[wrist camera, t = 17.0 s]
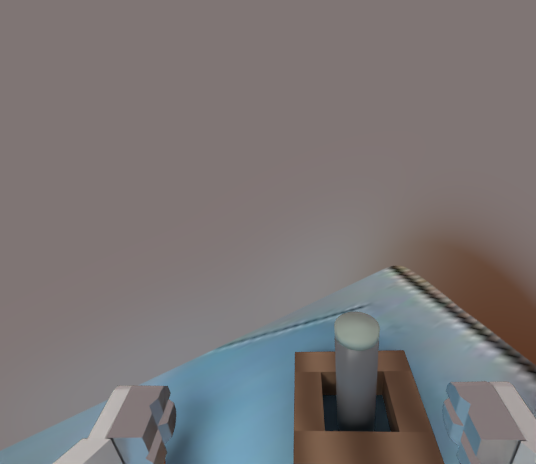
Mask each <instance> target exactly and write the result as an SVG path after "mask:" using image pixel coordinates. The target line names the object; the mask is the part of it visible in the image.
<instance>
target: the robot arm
mask: <svg viewBox="0 0 536 464" xmlns="http://www.w3.org/2000/svg"><path fill="white" fill-rule="evenodd" d="M446 392H447V394H448V397H449V398H448V399H447V400H445V401H444V404H443V419H444V423H445V427H446V430H447V433H448V435H449V438H450V439H451V440H452V441H453V442H455V443H456V444H457V445H458V446H459V448H458V452H457V457H458V460H459V462H460V464H536V419H535V417H534V416H533V414H532V413H531V411H530V410H529V408H528V407H527V405H526V404H525V402H524V401H523V399H522V398H521V396H520V395H519V393H518V392H517V391H516V389H515V388H514V386H513V385H512V384H511V383H509V382H486V381H482V382H450V383H449V384H448V385H447V389H446ZM170 394H171V393H170V391H169V388H168V386H134V385H132V386H130V385H129V386H117V387H116V388H115V389H114V390H113V392H112V394H111V396H110V398H109V399H108V401H107V403H106V405H105V407H104V409H103V410H102V412H101V414H100V416H99V418H98V420H97V422H96V423H95V425H94V427H93V429H92V431H91V433H90V435H89V436H88V438H85V439H81V440H80V441H79V442H78V443H77V444H76V445H74V446H73V447H72V448H71V449H70V450H68V451H67V452H66V453H65V454H64V455H62V456H61V457H60V458H59V459H58V460H56V461H55V462H54V463H53V464H163V463H164V460H165V457H166V454H167V451H166V448H165V445H164V444H165V443H166V442H167V441H168V440H169V439H170V438H171V437H172V435H173V432H174V428H175V423H176V408H175V405H174V403H173V402H172V401H170V400H169V396H170Z"/></svg>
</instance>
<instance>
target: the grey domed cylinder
mask: <svg viewBox="0 0 536 464" xmlns="http://www.w3.org/2000/svg"><path fill="white" fill-rule="evenodd" d="M334 327H335V363H336V398H337V425H338V428H339V430H340V431H361V432H374V429H375V410H376V390H377V370H378V350H379V330H380V328H379V324H378V322H377V321H376V320H375V319H374V318H373V317H372V316H370V315H368V314H365V313H362V312H348V313H344V314H342V315H340V316H339V317H338V318H337V319H336V321H335V324H334Z"/></svg>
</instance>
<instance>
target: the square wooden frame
mask: <svg viewBox="0 0 536 464" xmlns="http://www.w3.org/2000/svg"><path fill="white" fill-rule="evenodd" d="M322 395H336V363H335V352H295V393H294V464H444V461H443V459H442V456H441V453H440V450H439V447H438V445H437V442H436V439H435V436H434V433H433V431H432V428H431V425H430V422H429V419H428V417H427V414H426V411H425V408H424V405H423V403H422V400H421V397H420V394H419V391H418V389H417V386H416V383H415V380H414V377H413V375H412V372H411V369H410V366H409V363H408V361H407V358H406V355H405V352H404V350H398V351H378V370H377V390H376V395H382V397H383V401H384V405H385V409H386V413H387V418H388V422H389V426H390V430H391V432H361V431H325V425H324V411H323V396H322Z"/></svg>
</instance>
